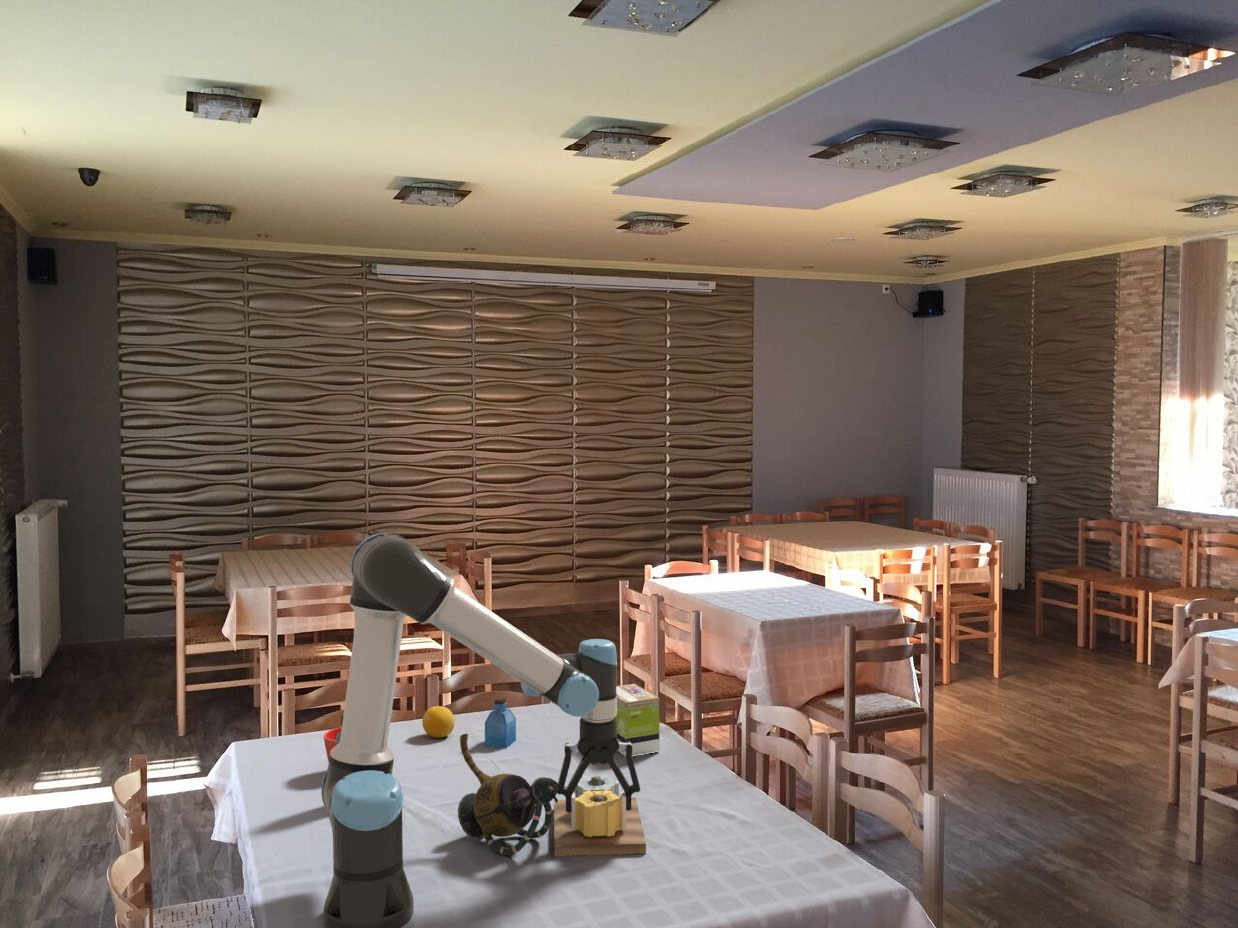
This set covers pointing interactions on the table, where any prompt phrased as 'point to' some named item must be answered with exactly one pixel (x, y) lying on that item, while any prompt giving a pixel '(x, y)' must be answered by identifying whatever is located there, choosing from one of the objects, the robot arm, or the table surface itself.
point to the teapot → (505, 806)
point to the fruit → (438, 721)
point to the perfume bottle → (500, 725)
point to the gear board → (579, 844)
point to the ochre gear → (598, 813)
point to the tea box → (637, 719)
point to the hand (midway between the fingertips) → (598, 826)
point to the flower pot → (331, 740)
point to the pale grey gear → (586, 785)
